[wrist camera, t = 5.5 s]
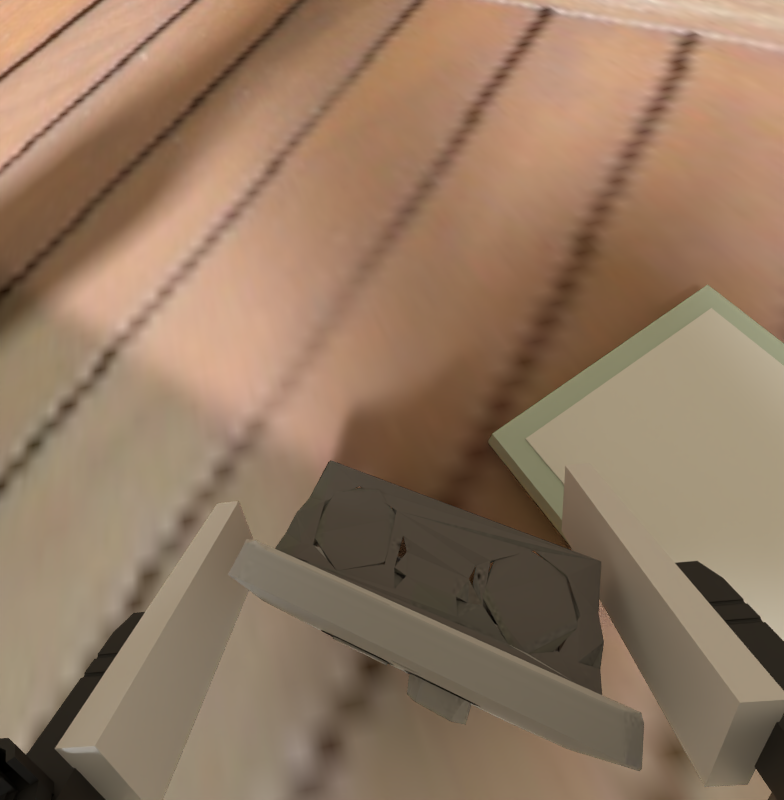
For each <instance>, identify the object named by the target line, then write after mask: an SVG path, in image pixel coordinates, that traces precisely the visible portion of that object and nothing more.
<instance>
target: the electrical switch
mask: <svg viewBox="0 0 784 800" xmlns="http://www.w3.org/2000/svg"><path fill="white" fill-rule="evenodd" d="M358 486H360V487H362V488H357V487H358ZM355 488H357V489H355ZM390 506H391V507H392V508H391V507H390ZM403 537H404V541H405V546H406V551H407V552H406V554H405V555H404V556H403V557H402V558H400V557H398V553H399V549H400V545H401V542H402V538H403ZM532 551H536V552H537V553H538V554H539V555H540V556H541V557H542V558H541V557H540V556H538V555H537V554H535V553H533V552H532ZM492 562H494V563H493V565H492V567H491V569H490V571H489V567H490V563H492ZM475 566H476V568H475ZM474 568H475V574H474V580H473V585H472V584H471V582H470V580H469V577H470V576H471V574H472V572H473V570H474ZM488 572H489V573H488ZM228 575H229V576H231V577H232V578H233V579H235V580H236V581H237V582H239V583H240V584H241V585H243V586H244V587H245V588H247V589H248V590H250V591H251V592H252V593H254V594H255V595H256V596H258V597H259V598H260V599H262V600H263V601H265V602H267V603H269V604H270V605H272V606H274V607H276V608H278V609H280V610H282V611H284V612H286V613H288V614H290V615H292V616H294V617H296V618H297V619H299V620H301V621H303V622H305V623H307V624H309V625H311V626H313V627H315V628H317V629H319V630H321V631H323V632H325V633H326V634H328V635H331V636H332V637H333V639H335V640H337V641H339V642H340V643H342V644H344V645H346V646H348V647H350V648H352V649H354V650H356V651H358V652H360V653H362V654H365V655H367V656H369V657H371V658H373V659H375V660H377V661H379V662H381V663H383V664H386V665H387V664H390V665H392V666H394V667H396V668H398V669H400V670H402V671H404V672H406V673H408V674H410V675H409V681H408V690H407V694H408V695H409V696H410V697H411V698H412V699H413V700H414V701H415V702H417V703H418V704H420V705H422V706H424V707H426V708H427V709H429V710H431V711H433V712H435V713H436V714H438V715H440V716H442V717H444V718H446V719H447V720H449V721H452V722H456V723H460V724H465V725H466V721H467V717H468V714H469V710H470V707H471V705H473V706H476V707H478V708H480V709H482V710H484V711H486V712H488V713H490V714H492V715H494V716H496V717H498V718H500V719H502V720H504V721H506V722H509V723H511V724H513V725H515V726H518V727H520V728H522V729H524V730H526V731H529V732H531V733H533V734H535V735H538V736H540V737H542V738H544V739H546V740H549V741H551V742H553V743H555V744H557V745H560V746H562V747H564V748H566V749H569V750H572V751H575V752H578V753H582V754H586V755H589V756H592V757H595V758H599V759H602V760H605V761H608V762H612V763H615V764H618V765H621V766H624V767H628V768H631V769H634V770H637V771H640V770H641V769H642V754H643V733H644V722H643V718H642V715H641V712H638V711H636V710H634V709H632V708H629V707H627V706H625V705H623V704H621V703H618V702H616V701H614V700H612V699H609V698H607V697H605V696H603V695H602V688H601V674H600V666H601V659H602V652H603V644H604V640H603V635H602V630H601V625H600V620H599V615H598V611H599V595H600V578H601V561H599V560H596V559H594V558H591V557H588V556H586V555H583V554H580V553H577V552H575V551H572V550H569V549H567V548H564V547H561V546H559V545H556V544H553V543H551V542H548V541H545V540H543V539H540V538H537V537H535V536H532V535H529V534H527V533H524V532H521V531H518V530H516V529H513V528H510V527H508V526H505V525H502V524H500V523H497V522H494V521H492V520H489V519H486V518H484V517H481V516H478V515H476V514H473V513H470V512H468V511H465V510H462V509H460V508H457V507H454V506H451V505H449V504H446V503H443V502H441V501H438V500H435V499H433V498H430V497H427V496H425V495H422V494H419V493H417V492H414V491H411V490H409V489H406V488H403V487H401V486H398V485H395V484H392V483H390V482H387V481H384V480H382V479H379V478H376V477H374V476H371V475H368V474H366V473H363V472H360V471H358V470H355V469H352V468H350V467H347V466H344V465H342V464H339V463H336V462H334V461H331V460H330V462H328V464H327V466H326V468H325V470H324V472H323V474H322V475H321V477H320V479H319V481H318V483H317V485H316V487H315V489H314V491H313V493H312V494H311V496H310V498H309V499H308V500H307V502H306V503H305V504H304V505H303V506H302V507H301V509H300V510H299V511H298V512H297V513H296V515H295V517H294V519H293V521H292V523H291V524H290V526H289V528H288V530H287V532H286V534H285V535H284V537H283V538H282V539H281V541H280V542H279V544H278V545H277V547H276V548H272V547H270V546H268V545H266V544H263V543H261V542H259V541H257V540H250V539H246V541H245V543H244V545H243V547H242V549H241V551H240V553H239V555H238V557H237V558H236V560H235V562H234V564H233V566H232V568H231V570H230V572H229V573H228Z"/></svg>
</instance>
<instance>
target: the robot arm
mask: <svg viewBox="0 0 784 800" xmlns="http://www.w3.org/2000/svg"><path fill="white" fill-rule="evenodd" d="M561 531H562V533H563V534H564V536H565V538H566V540H567V542H568V543H569V545H570V547H571V549H572V550H573V551H575V552H577V553H580V554H583V555H586V556H588V557H591V558H594V559H596V560H599V561H601V578H600V595H599V599H600V600H601V602H602V604H603V606H604V608H605V609H606V611H607V613H608V615H609V616H610V618H611V620H612V622H613V624H614V625H615V627H616V629H617V631H618V633H619V634H620V636H621V638H622V640H623V641H624V643H625V645H626V647H627V649H628V650H629V652H630V654H631V656H632V658H633V659H634V661H635V663H636V665H637V666H638V668H639V670H640V672H641V674H642V675H643V677H644V679H645V681H646V683H647V684H648V686H649V688H650V690H651V691H652V693H653V695H654V697H655V699H656V700H657V702H658V704H659V706H660V707H661V709H662V711H663V713H664V715H665V716H666V718H667V720H668V722H669V724H670V725H671V727H672V729H673V731H674V732H675V734H676V736H677V738H678V740H679V741H680V743H681V745H682V747H683V749H684V750H685V752H686V754H687V756H688V757H689V759H690V761H691V763H692V765H693V766H694V768H695V770H696V772H697V774H698V775H699V777H700V779H701V781H702V782H703V784H704V786H705V787H711V786H730V785H748V783H749V781H750V779H751V777H752V775H753V773H754V771H755V769H757V771H758V772H759V774H760V775H761V777H762V778H763V780H764V781H765V783H766V784H767V786H768V787H769V788H770V790H771V791H772V793H771V795H770V797H769V798H768V800H784V641H783V640H782V639H781V638H780V637H779V636H778V635H777V634H776V633H775V632H774V631H773V629H772V628H771V627H770V626H769V625H768V624H767V623H766V622H763V621H762V620H761V617H760V616H759V615H758V614H757V613H756V612H755V611H754V610H753V609H752V607H751V606H750V605H749V604H748V603H747V604H746V603H745V602H744V599H743V598H742V597H741V596H740V595H739V594H738V593H737V592H736V591H735V590H734V589H733V588H732V587H731V585H730V584H729V583H728V582H727V581H726V580H725V579H724V578H723V577H721V576H720V575H718V574H717V573H715V572H714V571H712V570H711V569H709V568H708V567H706V566H705V565H703V564H702V563H700V562H698V561H688V562H677V563H675V562H674V561H673V560H672V559H671V558H670V557H669V555H668V554H667V553H666V552H665V551H664V550H663V548H662V547H661V546H660V545H659V544H658V543H657V541H656V540H655V539H654V538H653V537H652V535H651V534H650V533H649V532H648V531H647V530H646V528H645V527H644V526H643V525H642V524H641V523H640V521H639V520H638V519H637V518H636V517H635V515H634V514H633V513H632V512H631V511H630V510H629V508H628V507H627V506H626V505H625V504H624V503H623V501H622V500H621V499H620V498H619V497H618V496H617V494H616V493H615V492H614V491H613V490H612V488H611V487H610V486H609V485H608V484H607V483H606V481H605V480H604V479H603V478H602V477H601V476H600V474H599V473H598V472H597V471H596V470H595V468H594V467H593V466H592V465H591V464H590V463H583V464H574V465H565V480H564V496H563V513H562V529H561ZM246 539H250V540H253V537H252V534H251V532H250V529H249V527H248V524H247V521H246V519H245V516H244V514H243V511H242V508H241V506H240V503H239V501H235V502H226V503H217V505H216V506H215V508H214V509H213V511H212V512H211V514H210V515H209V517H208V518H207V520H206V521H205V523H204V524H203V526H202V527H201V529H200V530H199V532H198V533H197V535H196V536H195V538H194V539H193V541H192V542H191V544H190V545H189V547H188V548H187V550H186V551H185V553H184V554H183V556H182V557H181V559H180V560H179V562H178V563H177V565H176V566H175V568H174V569H173V571H172V572H171V574H170V575H169V577H168V578H167V580H166V581H165V583H164V584H163V586H162V587H161V589H160V590H159V592H158V594H157V595H156V597H155V598H154V600H153V601H152V603H151V604H150V606H149V607H148V609H147V610H146V612H140V613H133V614H132V615H131V616H130V617H129V618H128V619H127V620H126V621H125V622H124V623H123V624H122V625H121V626H120V627H119V628H117V629H116V630H115V631H114V632H113V634H112V635H111V636H110V638H109V639H108V641H107V642H106V643H105V645H104V646H103V648H102V649H101V650H100V652H99V653H98V657H97V659H94V660H93V662H92V663H91V665H90V666H89V667H88V669H87V670H86V672H85V675H84V677H83V678H81V679H80V680H79V681H78V683H77V684H76V686H75V687H74V689H73V690H72V691H71V693H70V694H69V696H68V697H67V698H66V700H65V701H64V703H63V704H62V705H61V707H60V708H59V710H58V711H57V713H56V714H55V715H54V717H53V718H52V720H51V721H50V722H49V724H48V725H47V727H46V728H45V729H44V731H43V732H42V734H41V735H40V736H39V738H38V739H37V741H36V742H35V744H34V745H33V746H32V748H31V749H30V751H29V752H28V753H27V754H26V755H25V754H24V753H23V752H22V751H21V750H20V749H19V748H18V747H17V746H16V745H15V744H14V743H13V742H12V741H11V740H10V739H9V738H2V739H0V800H163V798H164V795H165V793H166V790H167V788H168V786H169V783H170V781H171V778H172V776H173V773H174V771H175V769H176V766H177V764H178V761H179V759H180V756H181V754H182V752H183V749H184V747H185V744H186V742H187V739H188V737H189V735H190V732H191V730H192V727H193V725H194V722H195V720H196V718H197V715H198V713H199V710H200V708H201V705H202V703H203V701H204V698H205V696H206V693H207V691H208V688H209V686H210V684H211V681H212V679H213V676H214V674H215V671H216V669H217V667H218V664H219V662H220V659H221V657H222V654H223V652H224V650H225V647H226V645H227V642H228V640H229V637H230V635H231V633H232V630H233V628H234V625H235V623H236V620H237V618H238V616H239V613H240V611H241V608H242V606H243V603H244V601H245V599H246V596H247V594H248V591H249V590H248V589H247V588H245V587H244V586H243V585H241V584H240V583H239V582H237V581H236V580H235V579H233V578H232V577H231V576H229V575H228V573H229V572H230V570H231V568H232V566H233V564H234V562H235V560H236V558H237V557H238V555H239V553H240V551H241V549H242V547H243V545H244V543H245V541H246Z"/></svg>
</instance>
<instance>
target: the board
mask: <svg viewBox="0 0 784 800" xmlns="http://www.w3.org/2000/svg"><path fill="white" fill-rule="evenodd" d="M488 443H489V444H490V446H491V447H492V448H493V449H494V451H495V452H496V453H497V455H498V456H499V457H500V458H501V460H502V461H503V462H504V463H505V465H506V466H507V467H508V468H509V470H510V471H511V472H512V473H513V475H514V476H515V477H516V478H517V480H518V481H519V482H520V483H521V485H522V486H523V487H524V489H525V490H526V491H527V492H528V494H529V495H530V496H531V497H532V499H533V500H534V501H535V502H536V504H537V505H538V506H539V507H540V509H541V510H542V511H543V512H544V514H545V515H546V516H547V518H548V519H549V520H550V521H551V523H552V524H553V525H554V526H555V528H556V529H557V530H558V531H559V533H560V534H561V535H562V536H563V538H564V539H565V540H566V538H565V536H564V534H563V533H562V531H561V529H562V513H563V496H564V480H565V465H574V464H583V463H590V464H591V465H592V466H593V467H594V468H595V470H596V471H597V472H598V473H599V474H600V476H601V477H602V478H603V479H604V480H605V481H606V483H607V484H608V485H609V486H610V487H611V488H612V490H613V491H614V492H615V493H616V494H617V496H618V497H619V498H620V499H621V500H622V501H623V503H624V504H625V505H626V506H627V507H628V508H629V510H630V511H631V512H632V513H633V514H634V515H635V517H636V518H637V519H638V520H639V521H640V523H641V524H642V525H643V526H644V527H645V528H646V530H647V531H648V532H649V533H650V534H651V535H652V537H653V538H654V539H655V540H656V541H657V543H658V544H659V545H660V546H661V547H662V548H663V550H664V551H665V552H666V553H667V554H668V555H669V557H670V558H671V559H672V560H673V561H674V562H675V563H677V562H688V561H698V562H700V563H702V564H703V565H705V566H706V567H708V568H709V569H711V570H712V571H714V572H715V573H717V574H718V575H720V576H721V577H723V578H724V579H725V580H726V581H727V582H728V583H729V584H730V585H731V587H732V588H733V589H734V590H735V591H736V592H737V593H738V594H739V595H740V596H741V597H742V598H743V599H744V602H745V603H746V604H747V603H748V604H749V605H750V606H751V607H752V609H753V610H754V611H755V612H756V613H757V614H758V615H759V616H760V617H761V620H762V621H763V622H766V623H767V624H768V625H769V626H770V627H771V628H772V629H773V631H774V632H775V633H776V634H777V635H778V636H779V637H780V638H781V639H782V640H783V641H784V343H782V342H781V341H780V340H779V339H777V338H776V337H775V336H773V335H772V334H771V333H770V332H768V331H767V330H766V329H764V328H763V327H762V326H761V325H759V324H758V323H757V322H755V321H754V320H753V319H751V318H750V317H749V316H748V315H746V314H745V313H744V312H742V311H741V310H740V309H739V308H737V307H736V306H735V305H733V304H732V303H731V302H730V301H728V300H727V299H726V298H724V297H723V296H722V295H721V294H719V293H718V292H717V291H715V290H714V289H713V288H711V287H710V286H709V285H706V286H705V287H703V288H702V289H700V290H699V291H698V292H696V293H695V294H693V295H692V296H690V297H689V298H687V299H686V300H685V301H683V302H682V303H680V304H679V305H677V306H676V307H674V308H673V309H672V310H670V311H669V312H667V313H666V314H664V315H663V316H661V317H660V318H659V319H657V320H656V321H654V322H653V323H651V324H650V325H648V326H647V327H646V328H644V329H643V330H641V331H640V332H638V333H637V334H635V335H634V336H633V337H631V338H630V339H628V340H627V341H625V342H624V343H622V344H621V345H620V346H618V347H617V348H615V349H614V350H612V351H611V352H609V353H608V354H607V355H605V356H604V357H602V358H601V359H599V360H598V361H596V362H595V363H594V364H592V365H591V366H589V367H588V368H586V369H585V370H583V371H582V372H581V373H579V374H578V375H576V376H575V377H573V378H572V379H570V380H569V381H568V382H566V383H565V384H563V385H562V386H560V387H559V388H557V389H556V390H555V391H553V392H552V393H550V394H549V395H547V396H546V397H544V398H543V399H542V400H540V401H539V402H537V403H536V404H534V405H533V406H531V407H530V408H529V409H527V410H526V411H524V412H523V413H521V414H520V415H518V416H517V417H516V418H514V419H513V420H511V421H510V422H508V423H507V424H505V425H504V426H503V427H501V428H500V429H498V430H497V431H495V432H494V433H492V435H491V437H490V438H489V440H488ZM566 541H567V540H566ZM567 543H568V542H567ZM568 544H569V543H568Z"/></svg>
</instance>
